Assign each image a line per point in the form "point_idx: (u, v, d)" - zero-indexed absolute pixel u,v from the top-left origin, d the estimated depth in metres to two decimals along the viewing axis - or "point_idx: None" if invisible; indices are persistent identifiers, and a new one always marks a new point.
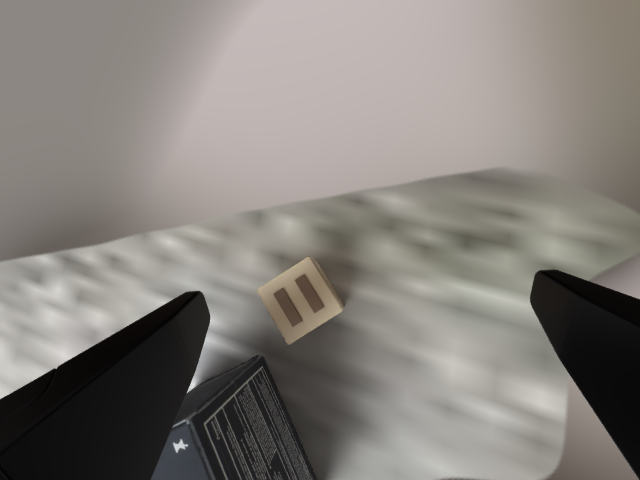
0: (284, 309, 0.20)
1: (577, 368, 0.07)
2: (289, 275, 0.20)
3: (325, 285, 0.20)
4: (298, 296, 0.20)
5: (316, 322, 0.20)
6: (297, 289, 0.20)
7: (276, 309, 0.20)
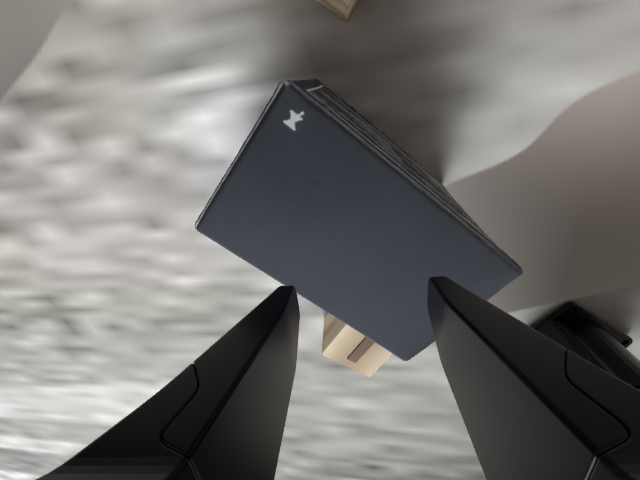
0: None
1: (450, 372, 0.07)
2: None
3: None
4: None
5: None
6: None
7: None
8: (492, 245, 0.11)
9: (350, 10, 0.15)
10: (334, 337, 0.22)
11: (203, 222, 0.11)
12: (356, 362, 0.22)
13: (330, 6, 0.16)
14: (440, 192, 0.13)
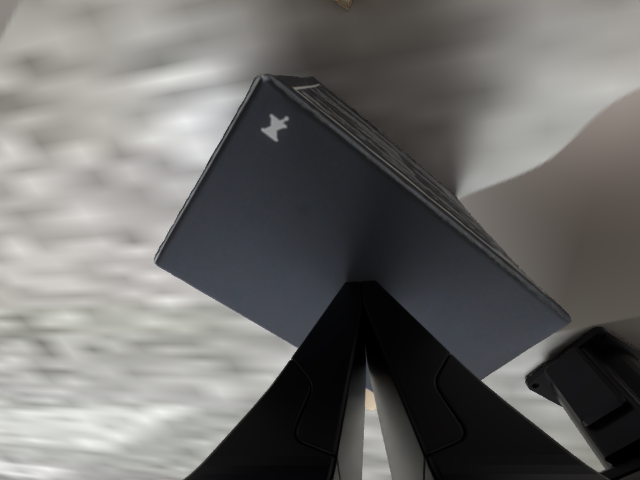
0: None
1: (371, 374, 0.07)
2: None
3: None
4: None
5: None
6: None
7: None
8: (533, 287, 0.08)
9: None
10: None
11: (164, 256, 0.09)
12: None
13: None
14: (461, 213, 0.11)
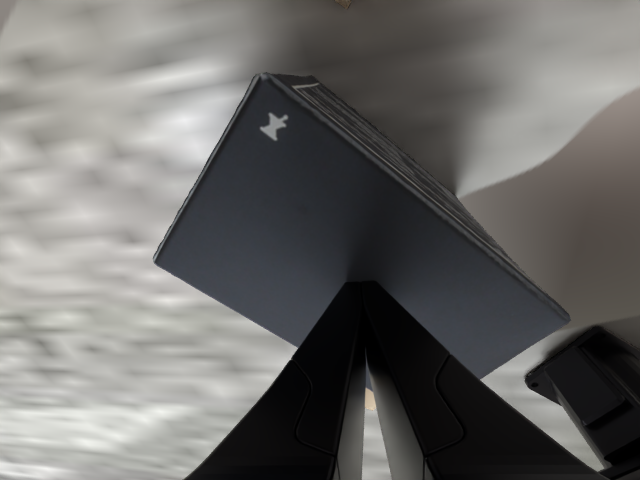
0: None
1: (370, 374, 0.07)
2: None
3: None
4: None
5: None
6: None
7: None
8: (533, 287, 0.08)
9: None
10: None
11: (163, 255, 0.09)
12: None
13: None
14: (460, 212, 0.11)
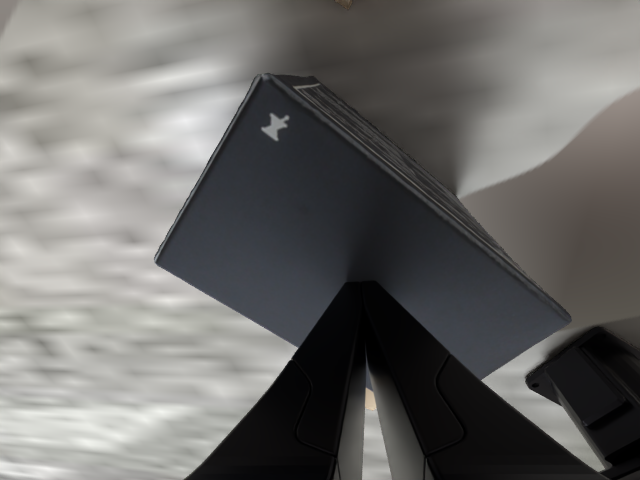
0: None
1: (371, 374, 0.07)
2: None
3: None
4: None
5: None
6: None
7: None
8: (534, 287, 0.08)
9: None
10: None
11: (164, 255, 0.09)
12: None
13: None
14: (461, 213, 0.11)
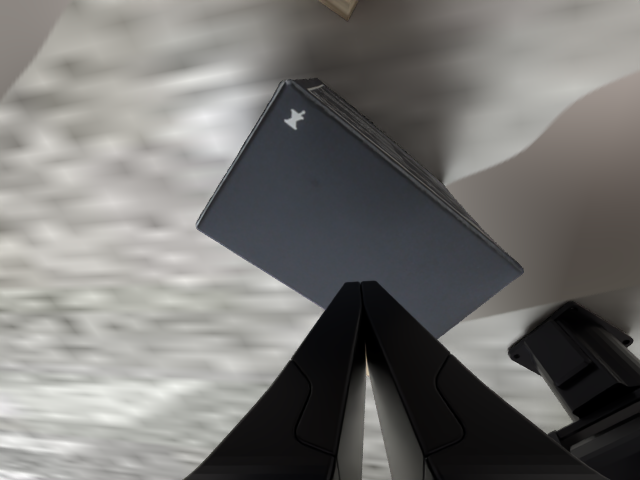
0: None
1: (371, 374, 0.07)
2: None
3: None
4: None
5: None
6: None
7: None
8: (493, 244, 0.11)
9: (351, 9, 0.15)
10: None
11: (204, 221, 0.11)
12: None
13: (331, 5, 0.16)
14: (441, 191, 0.13)
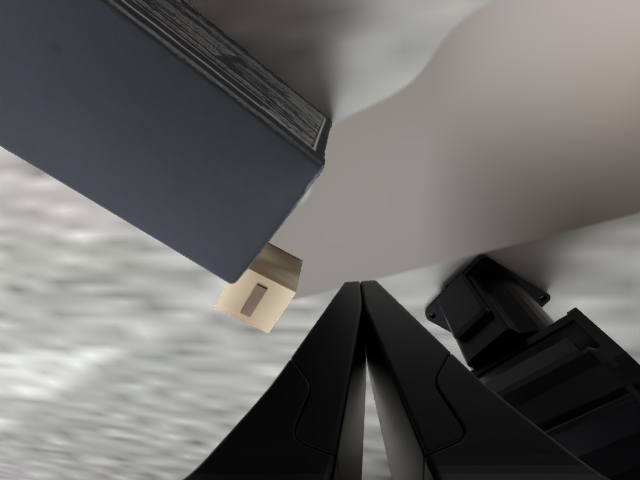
0: None
1: (371, 374, 0.07)
2: None
3: None
4: None
5: None
6: None
7: None
8: (282, 131, 0.10)
9: None
10: (224, 288, 0.20)
11: None
12: (251, 316, 0.21)
13: None
14: (267, 95, 0.12)
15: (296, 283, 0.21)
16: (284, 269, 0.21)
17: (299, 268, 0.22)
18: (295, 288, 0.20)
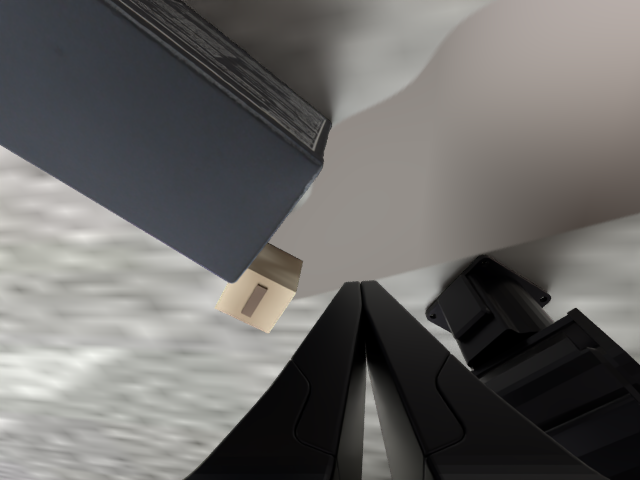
0: None
1: (371, 374, 0.07)
2: None
3: None
4: None
5: None
6: None
7: None
8: (281, 131, 0.10)
9: None
10: None
11: None
12: (251, 316, 0.21)
13: None
14: (266, 96, 0.12)
15: (296, 283, 0.21)
16: (285, 269, 0.21)
17: (299, 268, 0.22)
18: (296, 288, 0.20)
